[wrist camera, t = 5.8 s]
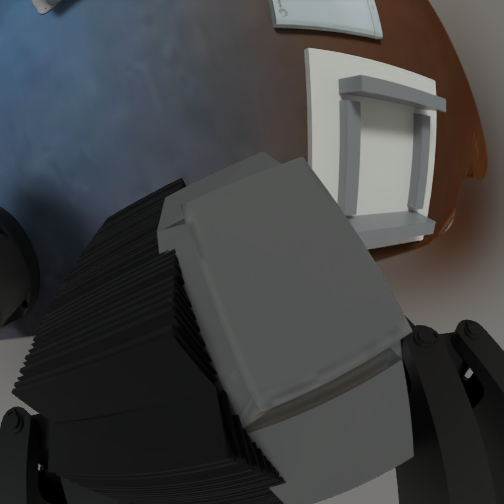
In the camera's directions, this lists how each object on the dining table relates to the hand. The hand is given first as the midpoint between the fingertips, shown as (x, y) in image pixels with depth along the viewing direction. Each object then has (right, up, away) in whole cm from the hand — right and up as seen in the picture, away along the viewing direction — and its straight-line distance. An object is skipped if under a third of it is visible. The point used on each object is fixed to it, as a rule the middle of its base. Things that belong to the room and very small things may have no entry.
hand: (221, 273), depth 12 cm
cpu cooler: (0, 0, 0) cm, 1 cm away
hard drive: (+9, +27, +6) cm, 29 cm away
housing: (+16, +12, +15) cm, 24 cm away
